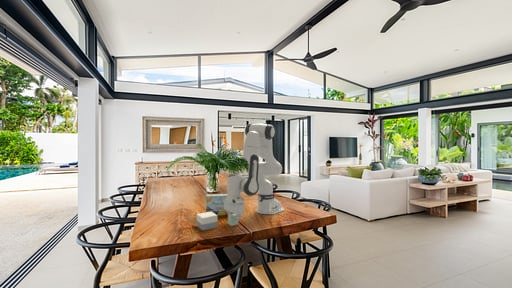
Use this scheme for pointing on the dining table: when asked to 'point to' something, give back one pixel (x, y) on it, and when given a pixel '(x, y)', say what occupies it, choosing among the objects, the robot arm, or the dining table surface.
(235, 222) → the sage block
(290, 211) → the dining table surface
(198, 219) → the cream slab
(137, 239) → the dining table surface
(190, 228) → the dining table surface
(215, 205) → the snack box
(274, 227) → the dining table surface
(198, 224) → the grey slab
